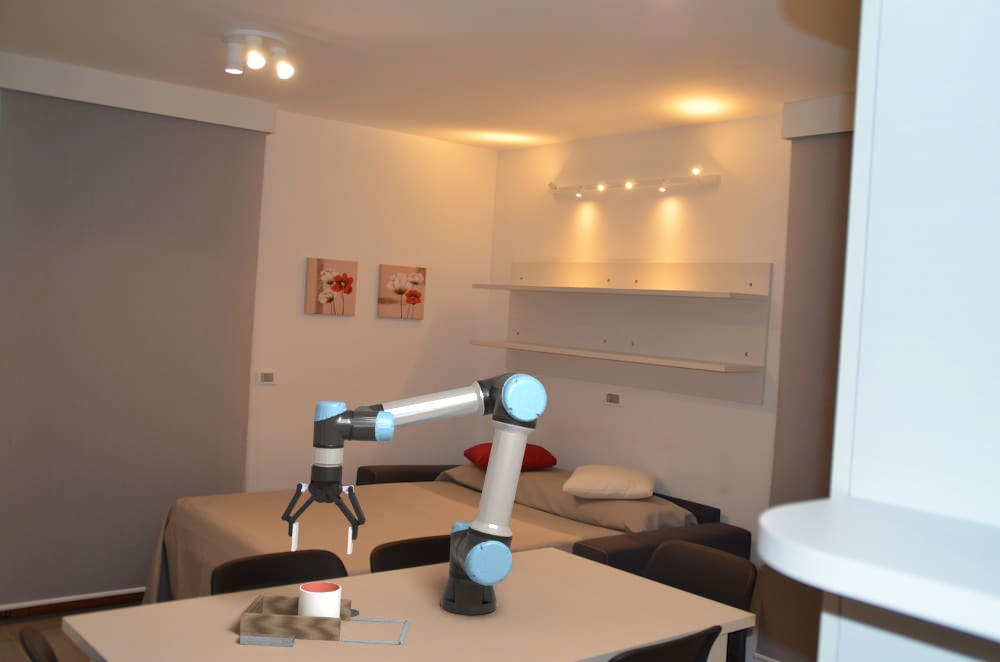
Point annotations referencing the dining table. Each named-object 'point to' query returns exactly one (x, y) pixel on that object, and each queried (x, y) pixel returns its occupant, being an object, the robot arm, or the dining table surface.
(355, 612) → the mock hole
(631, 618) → the dining table surface
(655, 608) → the dining table surface
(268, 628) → the cubby
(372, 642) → the pale blue bent rod
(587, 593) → the dining table surface
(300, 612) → the cup
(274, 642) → the hook bar
